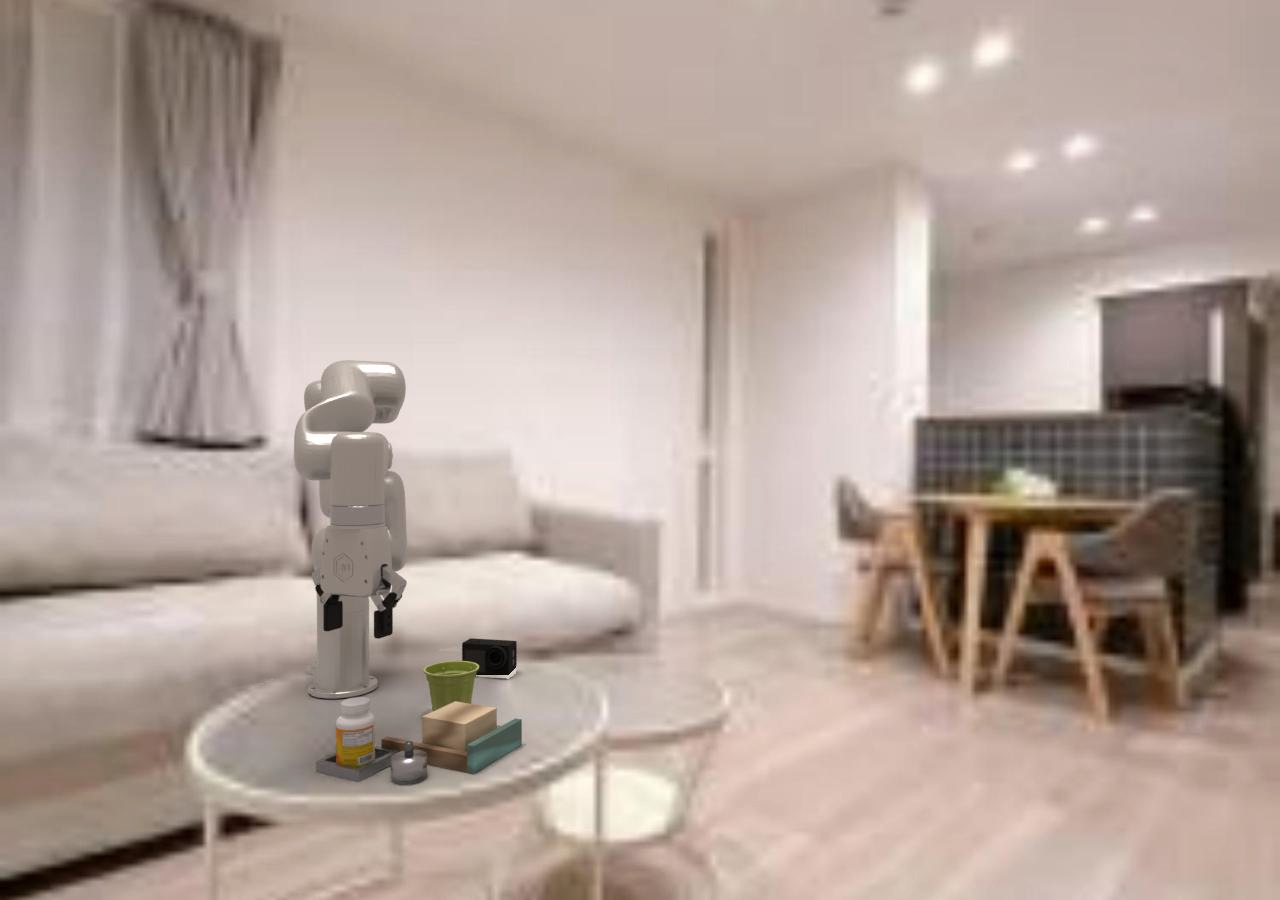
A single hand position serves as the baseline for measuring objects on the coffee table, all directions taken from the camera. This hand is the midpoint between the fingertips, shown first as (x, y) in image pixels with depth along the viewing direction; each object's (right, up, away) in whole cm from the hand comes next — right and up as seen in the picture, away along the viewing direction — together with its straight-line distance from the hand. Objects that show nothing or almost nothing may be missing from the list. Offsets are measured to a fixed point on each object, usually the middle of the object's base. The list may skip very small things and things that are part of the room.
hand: (357, 632), depth 117 cm
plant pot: (+9, -20, +21) cm, 30 cm away
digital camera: (+10, -20, +46) cm, 51 cm away
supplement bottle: (0, -20, 0) cm, 20 cm away
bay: (+12, -20, +6) cm, 24 cm away
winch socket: (+4, -20, -2) cm, 20 cm away
